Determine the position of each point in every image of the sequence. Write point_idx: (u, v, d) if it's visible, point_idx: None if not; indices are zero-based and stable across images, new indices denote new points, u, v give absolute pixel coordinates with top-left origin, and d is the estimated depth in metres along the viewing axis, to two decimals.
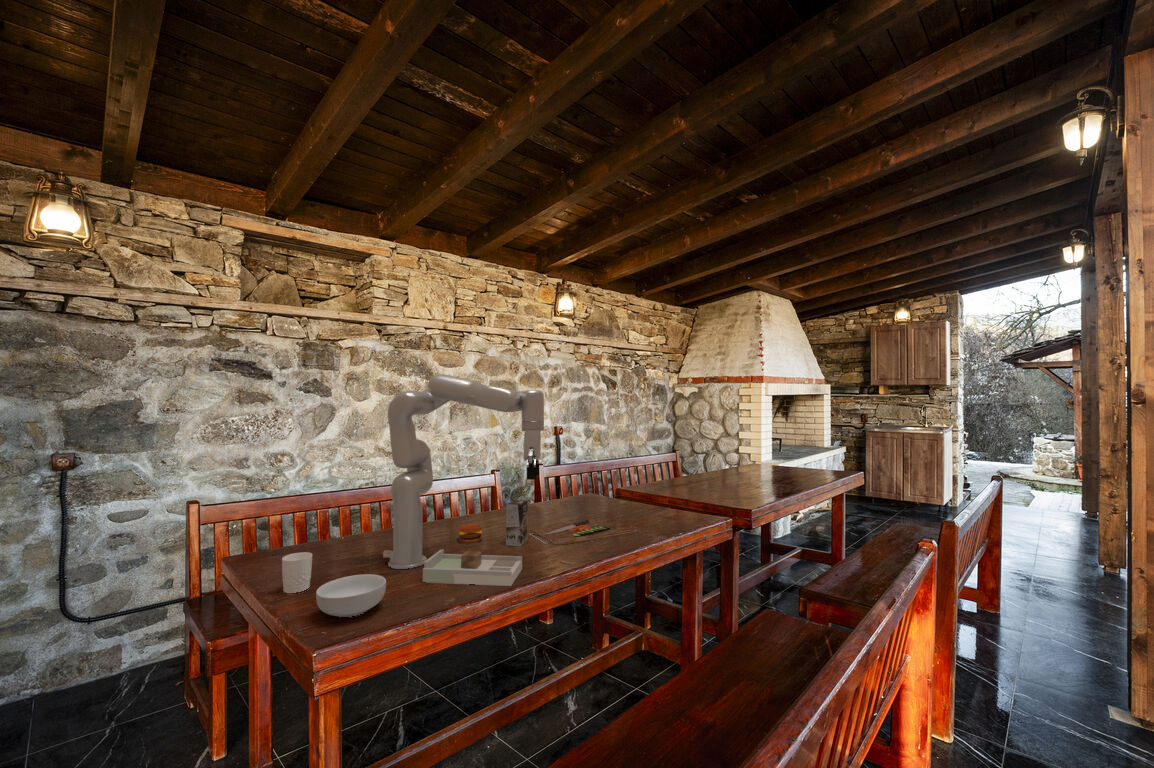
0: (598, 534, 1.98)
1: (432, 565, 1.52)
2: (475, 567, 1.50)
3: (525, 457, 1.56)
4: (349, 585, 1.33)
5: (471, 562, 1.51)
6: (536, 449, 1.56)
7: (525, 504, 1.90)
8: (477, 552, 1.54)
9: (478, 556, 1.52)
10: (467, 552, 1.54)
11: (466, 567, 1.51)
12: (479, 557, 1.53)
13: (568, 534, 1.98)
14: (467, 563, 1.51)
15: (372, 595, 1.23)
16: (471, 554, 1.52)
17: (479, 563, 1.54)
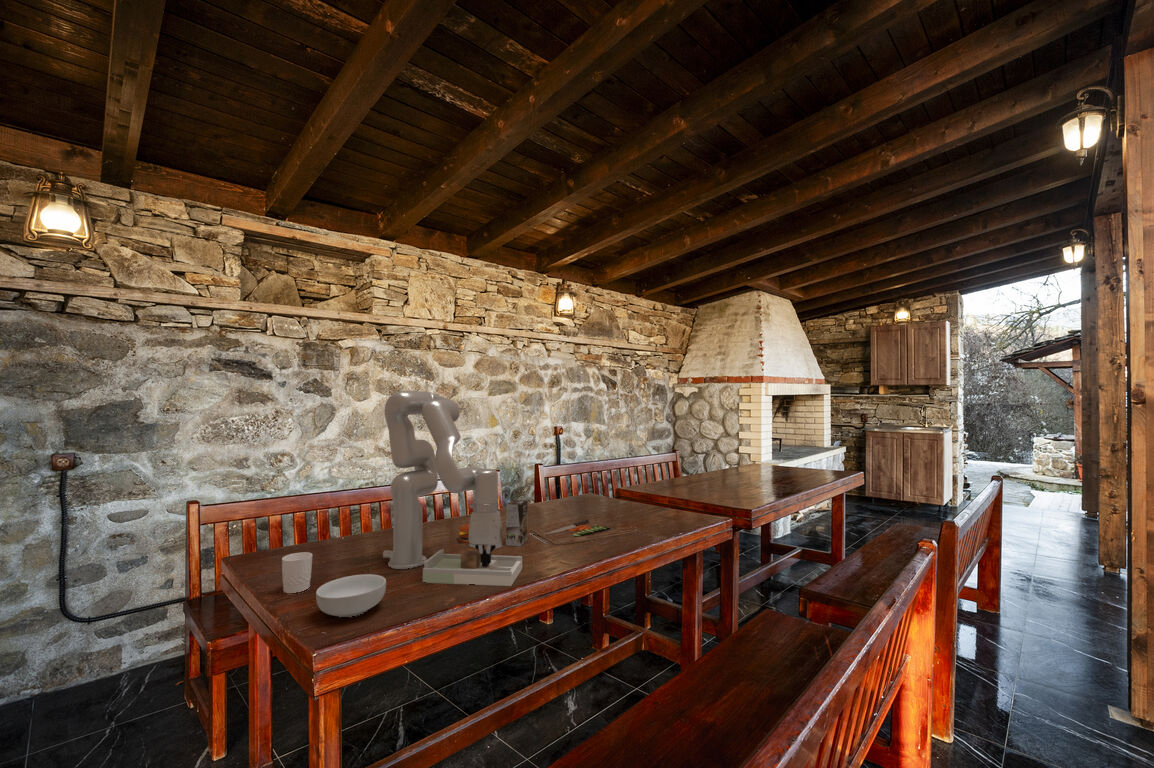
0: (598, 534, 1.98)
1: (432, 565, 1.52)
2: (475, 567, 1.50)
3: (499, 540, 1.50)
4: (349, 585, 1.33)
5: (471, 562, 1.51)
6: (501, 529, 1.54)
7: (525, 504, 1.90)
8: (477, 552, 1.54)
9: (478, 556, 1.52)
10: (467, 552, 1.54)
11: (466, 567, 1.51)
12: (479, 557, 1.53)
13: (568, 534, 1.98)
14: (467, 563, 1.51)
15: (372, 595, 1.23)
16: (471, 554, 1.52)
17: (479, 563, 1.54)
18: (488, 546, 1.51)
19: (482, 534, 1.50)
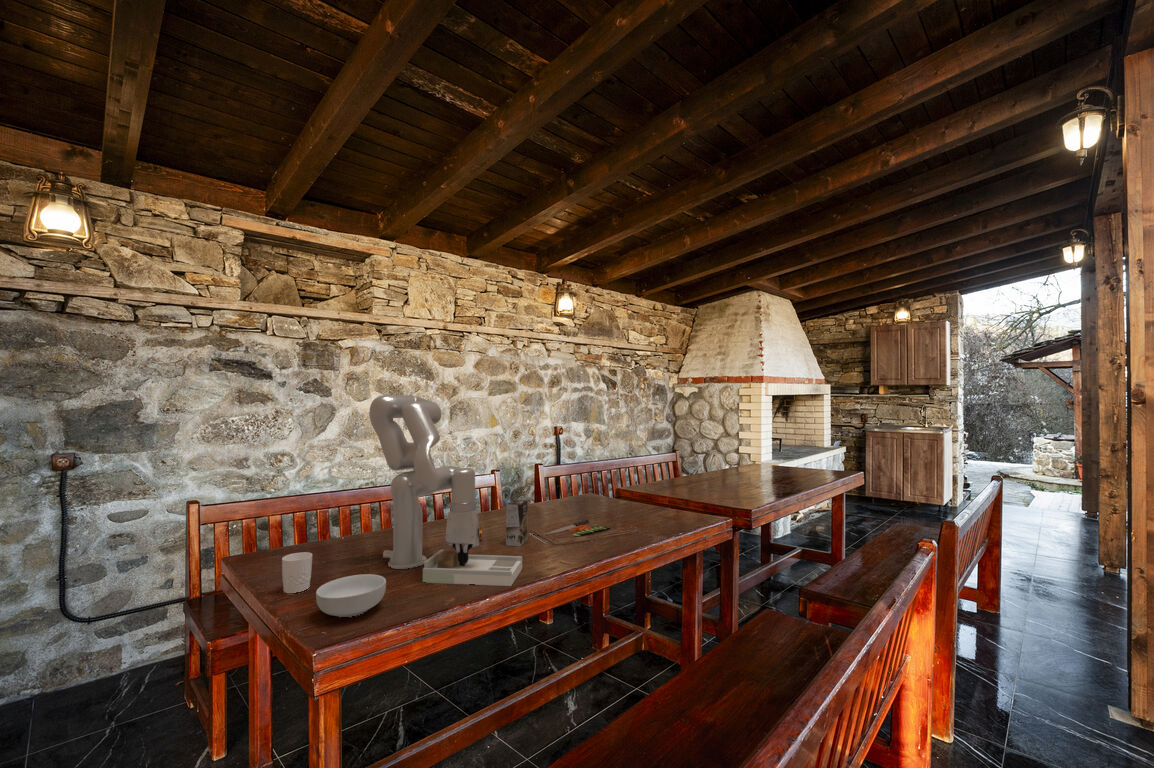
0: (598, 534, 1.98)
1: (432, 565, 1.52)
2: (451, 566, 1.51)
3: (476, 539, 1.51)
4: (349, 585, 1.33)
5: (448, 561, 1.51)
6: None
7: (525, 504, 1.90)
8: (454, 552, 1.55)
9: (455, 555, 1.53)
10: (444, 551, 1.55)
11: (442, 566, 1.51)
12: (456, 556, 1.54)
13: (568, 534, 1.98)
14: (444, 562, 1.51)
15: (372, 595, 1.23)
16: (448, 553, 1.53)
17: (456, 562, 1.54)
18: (465, 545, 1.52)
19: (459, 533, 1.51)
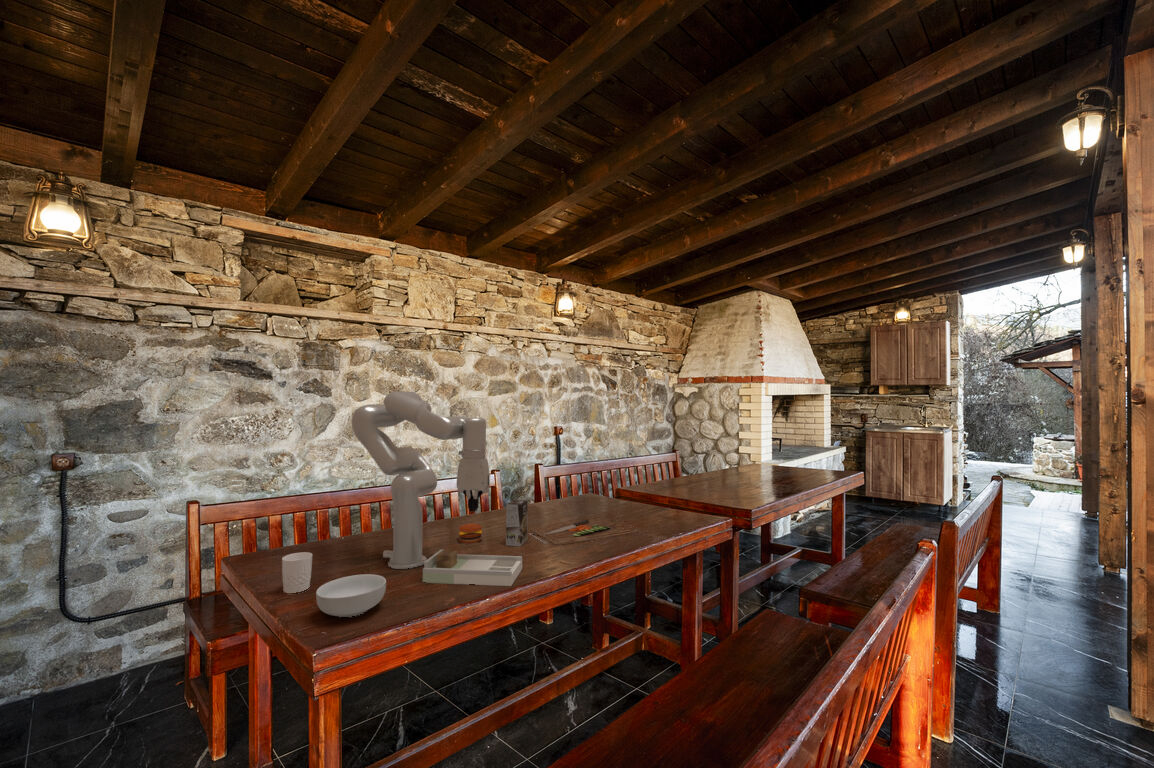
0: (598, 534, 1.98)
1: (432, 565, 1.52)
2: (450, 566, 1.51)
3: (486, 486, 1.54)
4: (349, 585, 1.33)
5: (446, 561, 1.51)
6: (489, 476, 1.58)
7: (525, 504, 1.90)
8: (453, 551, 1.55)
9: (453, 555, 1.53)
10: (443, 551, 1.55)
11: (441, 566, 1.51)
12: (454, 556, 1.54)
13: (568, 534, 1.98)
14: (442, 562, 1.51)
15: (372, 595, 1.23)
16: (446, 553, 1.53)
17: (455, 562, 1.54)
18: (475, 491, 1.55)
19: (469, 479, 1.54)
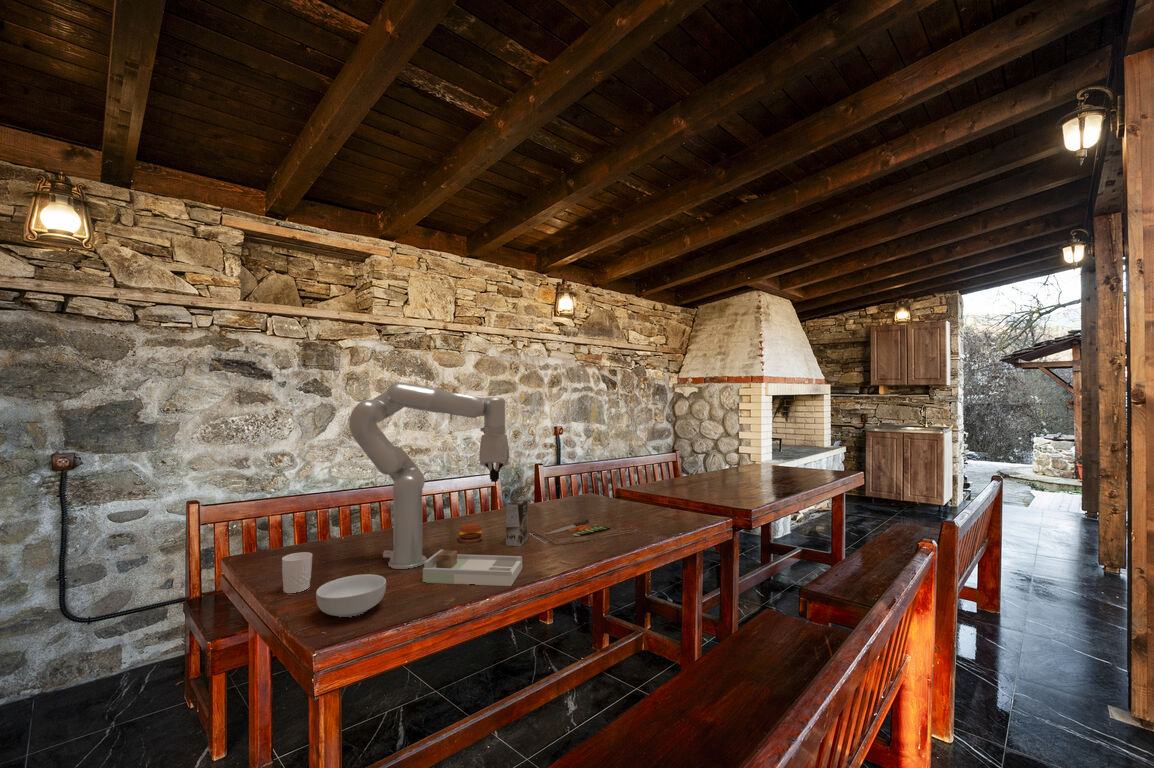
0: (598, 534, 1.98)
1: (432, 565, 1.52)
2: (450, 566, 1.51)
3: (506, 458, 1.71)
4: (349, 585, 1.33)
5: (446, 561, 1.51)
6: (508, 450, 1.74)
7: (525, 504, 1.90)
8: (453, 551, 1.55)
9: (453, 555, 1.53)
10: (443, 551, 1.55)
11: (441, 566, 1.51)
12: (454, 556, 1.54)
13: (568, 534, 1.98)
14: (442, 562, 1.51)
15: (372, 595, 1.23)
16: (446, 553, 1.53)
17: (455, 562, 1.54)
18: (496, 464, 1.72)
19: (491, 453, 1.71)
